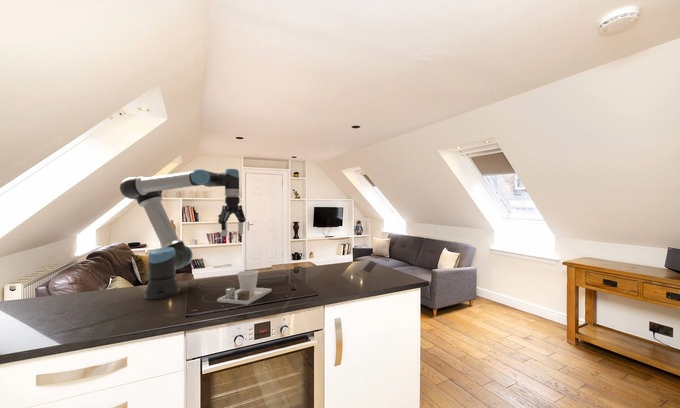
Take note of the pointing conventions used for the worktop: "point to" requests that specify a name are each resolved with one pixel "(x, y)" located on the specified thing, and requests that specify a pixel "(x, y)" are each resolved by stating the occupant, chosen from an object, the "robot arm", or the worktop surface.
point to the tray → (258, 294)
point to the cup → (248, 281)
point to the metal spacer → (230, 293)
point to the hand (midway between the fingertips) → (232, 234)
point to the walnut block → (243, 295)
